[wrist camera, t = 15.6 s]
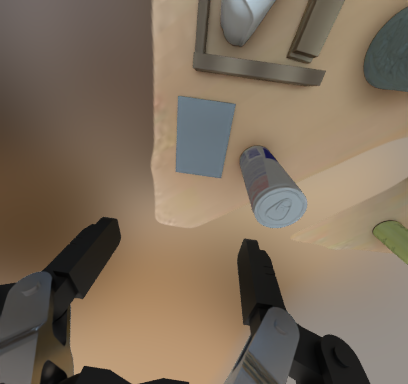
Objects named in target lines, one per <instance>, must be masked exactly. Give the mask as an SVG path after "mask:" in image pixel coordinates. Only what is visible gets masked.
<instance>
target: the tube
mask: <svg viewBox="0 0 408 384" xmlns="http://www.w3.org/2000/svg"><path fill="white" fill-rule="evenodd" d="M373 234H374V235H375V236H376V237H377V238H378V239H379V240H380V241H381V242H382V243H383V244H384V245H386V246H387V247H388V248H389V249H390V250H391V251H392V252H393V253H394V254H396V255H397V256H398V257H399V258H400V259H401V260H403V261H404V262H405V263H406V264H407V265H408V229H406V228H405V227H404V226H403V225H401V224H400V223H398V222H396V221H387V222H383V223H381V224H379V225H377V226H376V227H375V228H374V230H373Z"/></svg>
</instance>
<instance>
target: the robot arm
mask: <svg viewBox="0 0 408 384" xmlns="http://www.w3.org/2000/svg"><path fill="white" fill-rule="evenodd" d="M120 240H121V234H120V229H119V225H118V220H117V219H114V218H108V217H102V218H101V219H100V220H99V221H98V222H97V223H96V224H92V225H90V226H88V227H87V228H85V229H83V230H82V231H81V232H80V233H79V234H78V235H77V236H76V238H74V239H73V240H72V241H71V242H70V244H69V245H67V246H66V248H64V249H63V250H62V252H61V253H60V254H59V255H58V256H57V257H56V258H55V259H54V260H53V261H52V262H51V263H50V264H49V265H48V266H47V267H46V268H45V269H44V270H42V271H41V272H36V273H32V274H30V275H28V276H26V277H24V278H22V279H21V280H19V281H18V282H17V283H10V284H5V285H0V384H131V383H129V382H128V381H126V380H125V379H123V378H122V377H120V376H118V375H117V374H115V373H114V372H112V371H111V370H108V369H100V368H95V367H89V366H84V367H83V369H82V371H81V373H79V374H76V375H74V365H73V357H72V353H71V349H70V319H71V318H70V317H71V306H70V303H71V302H72V301H73V299H74V298H80V299H83V298H84V297H85V295H86V294H87V292H88V291H89V289H90V288H91V286H92V285H93V283H94V282H95V280H96V279H97V277H98V276H99V274H100V272H101V271H102V269H103V268H104V266H105V265H106V263H107V262H108V260H109V259H110V257H111V256H112V254H113V253H114V251H115V250H116V248H117V247H118V245H119V243H120ZM237 264H238V275H239V285H240V295H241V306H242V316H243V324H244V325H249V326H250V330H251V335H250V336H249V338H248V340H247V342H246V344H245V346H244V348H243V350H242V352H241V354H240V356H239V358H238V359H237V361H236V363H235V365H234V367H233V369H232V371H231V373H230V374H229V376H228V378H227V379H226V381H225V383H224V384H286V382H287V378H288V376H289V377H291V378H293V379H294V380H296V384H370V382H369V380H368V378H367V376H366V373H365V371H364V369H363V367H362V365H361V363H360V361H359V359H358V357H357V356H356V354H355V353H354V351H353V350H352V349H351V348H350V346H349V345H348V344H346V343H345V342H344V341H343V340H342V339H340V338H338V337H337V336H334V335H325V336H323V337H320V336H318V335H316V334H315V333H313V332H311V331H309V330H307V329H305V328H303V327H301V326H300V325H299V324H297V323H296V322H295V320H294V319H293V317H292V316H291V315H290V314H289V313H288V312H287V310H286V308H285V306H284V302H283V299H282V296H281V293H280V289H279V285H278V282H277V279H276V277H275V272H274V270H273V265H272V262H271V259H270V257H269V256H268V254H267V253H266V251H264V250H260V249H259V245H258V242H257V240H251V239H244V240H243V242H242V245H241V248H240V251H239V254H238V259H237ZM140 384H189V382H184V381H178V380H172V379H165V378H162V379H158V380H153V381H149V382H145V383H140Z"/></svg>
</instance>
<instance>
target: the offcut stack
mask: <svg viewBox="0 0 408 384" xmlns="http://www.w3.org/2000/svg"><path fill="white" fill-rule="evenodd" d="M344 1H345V0H309V2H308V4H307V7H306V9H305V12H304V14H303V17H302V19H301V22H300V25H299V27H298V30H297V32H296V35H295V37H294V40H293V42H292V45H291V47H290V50H289V52H288V55H287V58H290V59H293V60H297V61H300V62H303V63H311V62H312V59H313V58H315V57H318V55H319V53H320V51H321V49H322V47H323V45H324V43H325V41H326V39H327V37H328V35H329V32H330V30H331V28H332V26H333V24H334V22H335V20H336V18H337V16H338V14H339V11H340V9H341V7H342V5H343V3H344Z"/></svg>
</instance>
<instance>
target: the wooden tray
mask: <svg viewBox="0 0 408 384" xmlns="http://www.w3.org/2000/svg"><path fill="white" fill-rule="evenodd" d="M209 8H210V0H199V3H198V17H197V31H196V46H195V52H194V58H193V68H194V69H195V70H196V71H202V72H209V73H216V74H223V75H230V76H237V77H244V78H251V79H258V80H265V81H272V82H279V83H286V84H293V85H300V86H320V84H321V81H322V79H323V77H324V74H325V72H326V71H323V70H316V69H309V68H302V67H295V66H288V65H281V64H274V63H267V62H260V61H253V60H246V59H239V58H232V57H225V56H218V55H211V54H205V50H206V39H207V29H208V18H209Z"/></svg>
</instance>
